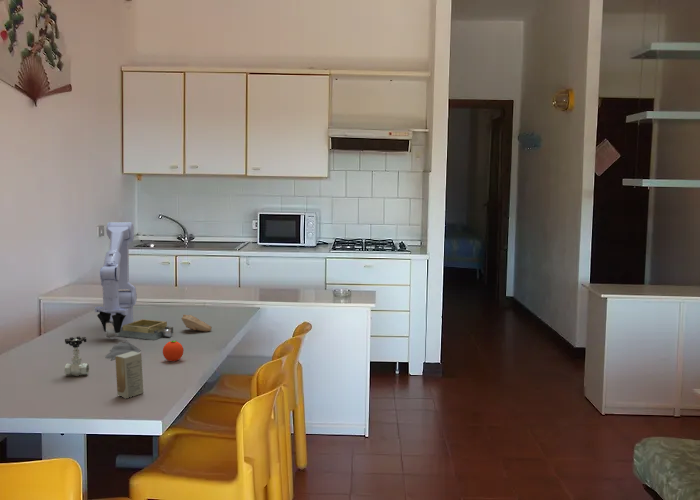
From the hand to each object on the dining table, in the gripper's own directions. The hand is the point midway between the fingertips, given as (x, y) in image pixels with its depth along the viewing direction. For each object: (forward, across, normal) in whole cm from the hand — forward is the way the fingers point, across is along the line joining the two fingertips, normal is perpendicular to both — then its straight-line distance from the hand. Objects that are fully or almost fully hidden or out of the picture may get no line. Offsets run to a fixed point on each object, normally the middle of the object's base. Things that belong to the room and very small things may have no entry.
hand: (112, 331), depth 262 cm
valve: (+3, +21, -41) cm, 46 cm away
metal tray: (+3, +8, +12) cm, 14 cm away
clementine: (+3, +39, -15) cm, 42 cm away
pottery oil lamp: (+3, +22, +24) cm, 33 cm away
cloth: (+4, +14, -12) cm, 19 cm away
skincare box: (+3, +49, -50) cm, 70 cm away
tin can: (+2, 0, 0) cm, 2 cm away
